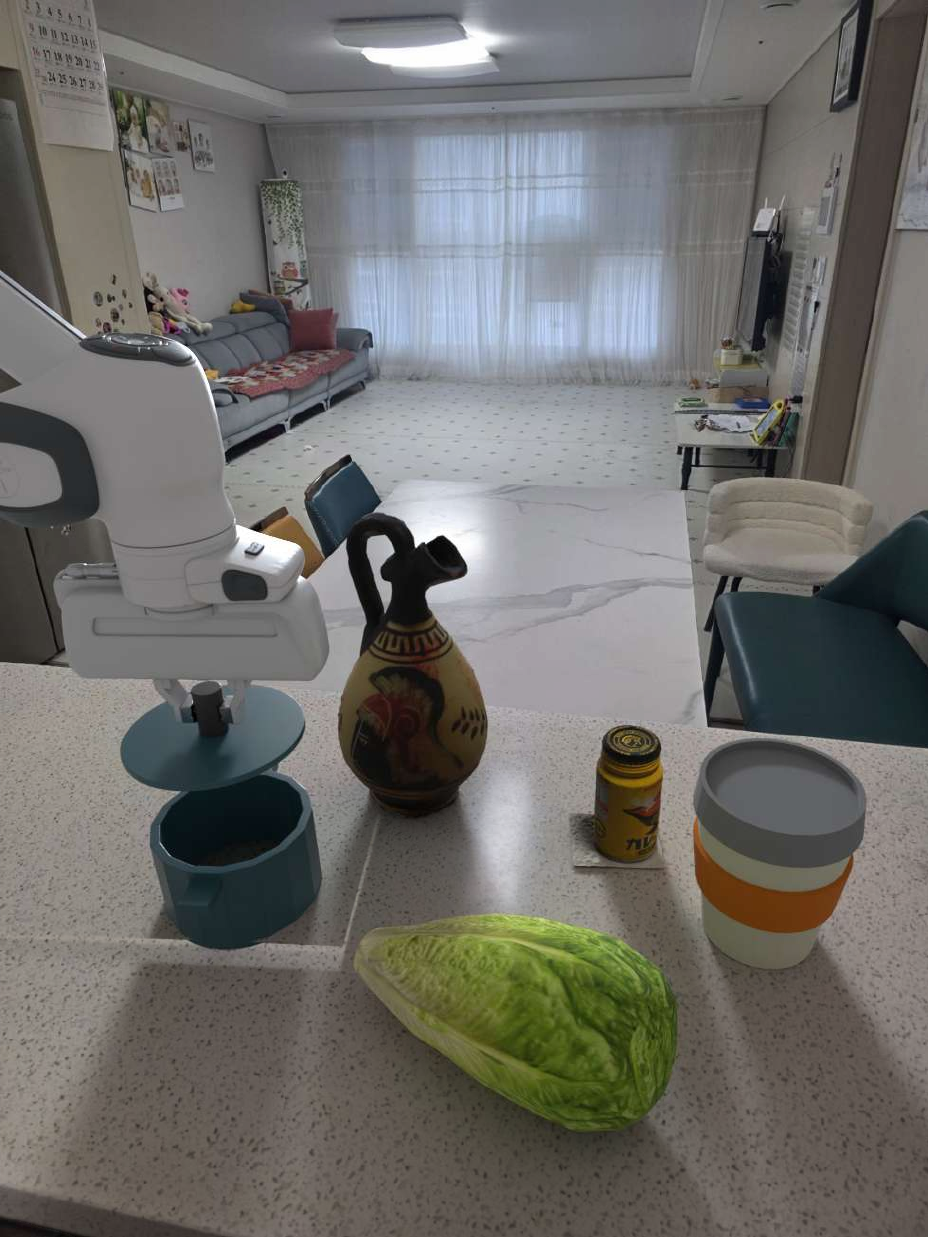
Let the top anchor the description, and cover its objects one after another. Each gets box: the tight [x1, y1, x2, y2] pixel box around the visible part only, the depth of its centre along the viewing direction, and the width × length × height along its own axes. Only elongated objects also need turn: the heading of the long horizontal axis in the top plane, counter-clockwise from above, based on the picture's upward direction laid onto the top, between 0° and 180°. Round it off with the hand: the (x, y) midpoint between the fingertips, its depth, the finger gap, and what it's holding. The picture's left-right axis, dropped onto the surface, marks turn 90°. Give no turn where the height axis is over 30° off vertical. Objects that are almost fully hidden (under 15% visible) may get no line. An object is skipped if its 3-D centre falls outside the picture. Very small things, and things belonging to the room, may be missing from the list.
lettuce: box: [353, 913, 679, 1133], centre depth 59 cm, size 12×24×13 cm
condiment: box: [569, 724, 666, 869], centre depth 77 cm, size 7×8×12 cm
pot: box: [149, 763, 323, 950], centre depth 73 cm, size 14×19×8 cm
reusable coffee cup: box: [692, 737, 868, 970], centre depth 66 cm, size 13×13×15 cm
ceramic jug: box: [337, 511, 489, 819], centre depth 82 cm, size 17×15×30 cm
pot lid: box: [119, 680, 306, 792], centre depth 67 cm, size 15×15×5 cm
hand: (212, 719), depth 67 cm, fingers closed on pot lid, 2 cm apart
